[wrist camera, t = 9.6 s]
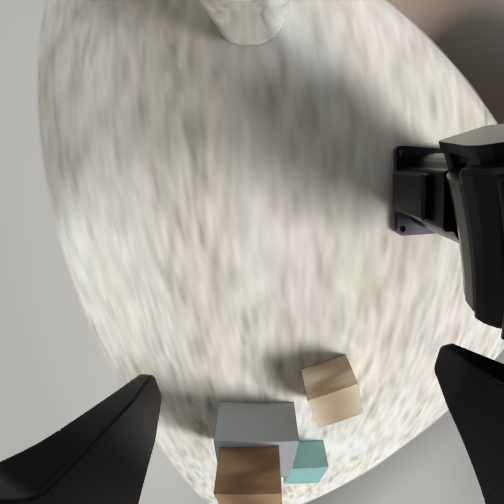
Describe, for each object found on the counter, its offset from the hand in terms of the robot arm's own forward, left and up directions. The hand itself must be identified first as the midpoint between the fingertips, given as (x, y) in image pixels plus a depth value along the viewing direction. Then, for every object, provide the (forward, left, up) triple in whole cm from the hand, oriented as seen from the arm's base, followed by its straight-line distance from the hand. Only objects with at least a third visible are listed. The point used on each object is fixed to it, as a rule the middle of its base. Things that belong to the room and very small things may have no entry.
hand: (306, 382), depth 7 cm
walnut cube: (+3, +18, -8) cm, 20 cm away
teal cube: (-2, +24, -13) cm, 27 cm away
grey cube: (+3, +18, -13) cm, 23 cm away
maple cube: (-4, +12, -13) cm, 18 cm away
